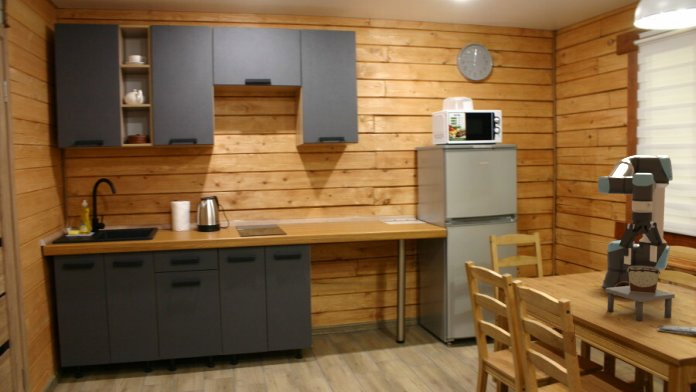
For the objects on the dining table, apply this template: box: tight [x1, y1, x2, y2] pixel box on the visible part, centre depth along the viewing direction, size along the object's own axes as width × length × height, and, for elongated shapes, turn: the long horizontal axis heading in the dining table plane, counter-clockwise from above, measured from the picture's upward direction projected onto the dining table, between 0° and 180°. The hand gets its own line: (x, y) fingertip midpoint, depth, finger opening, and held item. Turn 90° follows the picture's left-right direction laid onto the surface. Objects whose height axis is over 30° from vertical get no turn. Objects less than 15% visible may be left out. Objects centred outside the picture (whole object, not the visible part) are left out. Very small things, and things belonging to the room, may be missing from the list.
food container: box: [627, 266, 661, 294], centre depth 240 cm, size 12×6×10 cm, turn 68°
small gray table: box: [605, 286, 676, 322], centre depth 241 cm, size 18×18×10 cm
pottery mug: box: [614, 281, 630, 298], centre depth 270 cm, size 12×10×8 cm
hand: (640, 262), depth 240 cm, fingers open, 13 cm apart
